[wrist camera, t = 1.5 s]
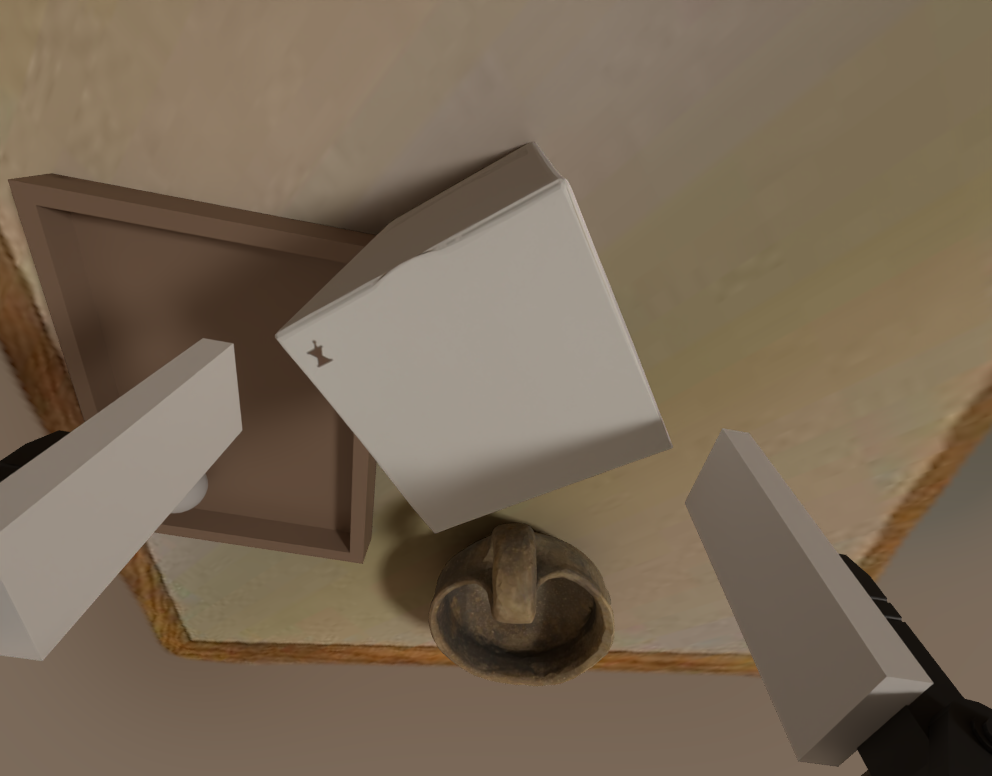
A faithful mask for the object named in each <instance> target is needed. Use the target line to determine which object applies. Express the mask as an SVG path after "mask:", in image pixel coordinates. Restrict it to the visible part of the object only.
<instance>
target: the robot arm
mask: <svg viewBox="0 0 992 776" xmlns="http://www.w3.org/2000/svg"><path fill="white" fill-rule="evenodd" d="M241 431H242V421H241V412H240V402H239V392H238V383H237V373H236V363H235V354H234V344H233V343H228V342H223V341H217V340H211V339H205V338H202V339H201V340H200V341H198V342H197V343H195V344H194V345H193V346H191V347H190V348H188V349H187V350H186V351H184V352H183V353H181V354H180V355H179V356H177V357H176V358H174V359H173V360H172V361H170V362H169V363H167V364H166V365H165V366H163V367H162V368H160V369H159V370H158V371H156V372H155V373H153V374H152V375H150V376H149V377H148V378H146V379H145V380H143V381H142V382H141V383H139V384H138V385H136V386H135V387H134V388H132V389H131V390H129V391H128V392H127V393H125V394H124V395H122V396H121V397H120V398H118V399H117V400H115V401H114V402H113V403H111V404H110V405H108V406H107V407H106V408H104V409H103V410H101V411H100V412H99V413H97V414H96V415H94V416H93V417H92V418H90V419H89V420H87V421H86V422H84V423H83V424H82V425H80V426H79V427H77V428H76V429H75V430H73V431H72V432H66V431H60V430H59V431H56V432H54V433H51V434H49V435H47V436H44V437H42V438H39V439H37V440H34V441H32V442H29V443H27V444H25V445H24V446H22V447H20V448H19V449H17V450H16V451H15V452H13V453H11V454H10V455H8V456H7V457H5V458H4V459H3V460H1V461H0V655H2V656H10V657H17V658H25V659H32V660H40V661H43V660H44V658H45V657H46V656H47V655H48V654H49V653H50V652H51V650H52V649H53V648H54V647H55V646H56V645H57V643H58V642H59V641H60V640H61V639H62V638H63V637H64V635H65V634H66V633H67V632H68V631H69V630H70V628H71V627H72V626H73V625H74V624H75V623H76V621H77V620H78V619H79V618H80V617H81V616H82V615H83V614H84V612H85V611H86V610H87V609H88V608H89V607H90V605H91V604H92V603H93V602H94V600H96V598H97V597H98V596H99V595H100V594H101V593H102V591H103V590H104V589H105V588H106V587H107V586H108V585H109V584H110V582H111V581H112V580H113V579H114V578H115V577H116V575H117V574H118V573H119V572H120V571H121V570H122V569H123V567H124V566H125V565H126V564H127V563H128V562H129V560H130V559H131V558H132V557H133V556H134V555H135V554H136V552H137V551H138V550H139V549H140V548H141V547H142V545H143V544H144V543H145V542H146V541H147V540H148V539H149V537H150V536H151V535H152V534H153V533H154V532H155V530H156V529H157V528H158V527H159V526H160V525H161V524H162V522H163V521H164V520H165V519H166V518H167V517H168V515H169V514H170V513H171V512H172V511H173V510H174V509H175V507H176V506H177V505H178V504H179V503H180V502H181V501H182V499H183V498H184V497H185V496H186V495H187V494H188V492H189V491H190V490H191V489H192V488H193V487H194V486H195V484H196V483H197V482H198V481H199V480H200V479H201V477H202V476H203V475H204V474H205V473H206V472H207V471H208V469H209V468H210V467H211V466H212V465H213V464H214V462H215V461H216V460H217V459H218V458H219V457H220V456H221V454H222V453H223V452H224V451H225V450H226V449H227V447H228V446H229V445H230V444H231V443H232V442H233V441H234V439H235V438H236V437H237V436H238V435H239V434H240V432H241ZM685 504H686V507H687V509H688V511H689V513H690V516H691V518H692V520H693V523H694V525H695V527H696V529H697V532H698V534H699V536H700V538H701V541H702V543H703V545H704V548H705V550H706V552H707V554H708V557H709V559H710V561H711V564H712V566H713V568H714V570H715V573H716V575H717V577H718V580H719V582H720V584H721V586H722V589H723V591H724V593H725V596H726V598H727V600H728V602H729V605H730V607H731V609H732V611H733V614H734V616H735V618H736V621H737V623H738V625H739V627H740V630H741V632H742V634H743V637H744V639H745V641H746V643H747V646H748V648H749V650H750V653H751V655H752V657H753V659H754V662H755V664H756V666H757V669H758V671H759V673H760V675H761V678H762V680H763V682H764V684H765V687H766V689H767V691H768V694H769V696H770V698H771V700H772V703H773V705H774V707H775V710H776V712H777V714H778V716H779V719H780V721H781V723H782V726H783V728H784V730H785V732H786V735H787V737H788V739H789V741H790V744H791V746H792V748H793V751H794V753H795V755H796V757H797V760H798V761H800V762H807V763H815V764H822V765H830V766H837V767H838V766H839V765H840V764H842V763H843V762H844V761H845V760H846V759H847V758H849V757H850V756H851V755H852V754H853V753H854V752H856V751H857V750H858V752H859V754H860V755H861V757H862V759H863V761H864V763H865V765H866V766H867V768H868V770H867V771H866V772H865V773H864V774H862V775H861V776H992V709H991V708H989V707H987V706H985V705H983V704H981V703H979V702H975V701H971V700H967V699H964V697H963V696H962V695H961V694H960V693H959V691H958V690H957V689H956V687H955V686H954V685H953V683H952V682H951V681H950V680H949V678H948V677H947V676H946V674H945V673H944V672H943V671H942V670H941V668H940V667H939V665H938V664H937V663H936V661H935V660H934V659H933V658H932V656H931V655H930V654H929V652H928V651H927V650H926V649H925V647H924V646H923V644H922V643H921V642H920V641H919V640H918V638H917V637H916V636H915V634H914V633H913V632H912V630H911V629H910V628H909V626H908V625H907V624H906V623H905V622H902V621H901V618H902V617H901V616H900V615H899V613H898V612H897V611H896V609H895V608H894V607H893V606H892V604H891V603H887V598H886V596H885V595H884V594H883V593H882V591H881V590H880V589H879V587H878V586H877V585H876V583H875V582H874V581H873V580H872V578H871V577H870V576H869V575H868V574H867V573H866V572H865V571H864V570H862V569H861V568H860V567H859V566H858V565H857V564H856V563H854V562H853V561H852V560H851V559H850V558H849V557H848V556H846V555H843V554H838V553H837V551H836V550H835V549H834V547H833V546H832V545H831V543H830V542H829V541H828V539H827V538H826V537H825V535H824V534H823V532H822V531H821V530H820V528H819V527H818V526H817V524H816V523H815V522H814V520H813V519H812V518H811V516H810V515H809V513H808V512H807V511H806V509H805V508H804V507H803V505H802V504H801V503H800V501H799V500H798V499H797V497H796V496H795V495H794V493H793V492H792V490H791V489H790V488H789V486H788V485H787V484H786V482H785V481H784V480H783V478H782V477H781V476H780V474H779V473H778V471H777V470H776V469H775V467H774V466H773V465H772V463H771V462H770V461H769V459H768V458H767V457H766V455H765V454H764V452H763V451H762V450H761V448H760V447H759V446H758V444H757V443H756V442H755V440H754V439H753V438H752V436H751V435H750V433H746V432H740V431H735V430H729V429H723V428H722V430H721V432H720V434H719V436H718V438H717V440H716V442H715V444H714V446H713V448H712V450H711V452H710V454H709V456H708V458H707V460H706V462H705V464H704V466H703V468H702V470H701V472H700V474H699V476H698V478H697V480H696V481H695V483H694V485H693V487H692V489H691V491H690V493H689V495H688V497H687V499H686V501H685Z"/></svg>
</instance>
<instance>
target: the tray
mask: <svg viewBox="0 0 992 776" xmlns="http://www.w3.org/2000/svg"><path fill="white" fill-rule="evenodd" d="M8 182H9V185H10V188H11V191H12V194H13V198H14V201H15V204H16V207H17V210H18V213H19V217H20V220H21V223H22V226H23V229H24V232H25V235H26V239H27V242H28V245H29V248H30V251H31V254H32V257H33V261H34V264H35V267H36V270H37V273H38V276H39V279H40V283H41V286H42V289H43V292H44V295H45V298H46V301H47V305H48V308H49V311H50V314H51V317H52V320H53V323H54V327H55V330H56V333H57V336H58V339H59V342H60V345H61V349H62V352H63V355H64V358H65V361H66V364H67V368H68V371H69V374H70V377H71V380H72V383H73V386H74V390H75V393H76V396H77V399H78V402H79V405H80V408H81V412H82V415H83V418H84V421H85V422H86V421H87V420H89V419H90V418H92V417H93V416H94V415H96V414H97V413H99V412H100V411H101V410H103V409H104V408H106V407H107V406H108V405H110V404H111V403H113V402H114V401H115V400H117V399H118V398H120V397H121V396H122V395H124V394H125V393H127V392H128V391H129V390H131V389H132V388H134V387H135V386H136V385H138V384H139V383H141V382H142V381H143V380H145V379H146V378H148V377H149V376H150V375H152V374H153V373H155V372H156V371H158V370H159V369H160V368H162V367H163V366H165V365H166V364H167V363H169V362H170V361H172V360H173V359H174V358H176V357H177V356H179V355H180V354H181V353H183V352H184V351H186V350H187V349H188V348H190V347H191V346H193V345H194V344H195V343H197V342H198V341H200V340H201V339H202V338H205V339H211V340H217V341H223V342H228V343H233V344H234V354H235V363H236V373H237V383H238V392H239V402H240V412H241V421H242V431H241V432H240V434H239V435H238V436H237V437H236V438H235V439H234V441H233V442H232V443H231V444H230V445H229V446H228V447H227V449H226V450H225V451H224V452H223V453H222V454H221V456H220V457H219V458H218V459H217V460H216V461H215V462H214V464H213V465H212V466H211V467H210V468H209V469H208V471H207V472H206V473H205V474H206V476H207V479H208V489H207V492H206V494H205V496H204V498H203V499H202V501H201V502H200V503H199V504H198V505H196V506H195V507H193V508H192V509H190V510H188V511H185V512H181V513H170V514H169V515H168V517H167V518H166V519H165V520H164V521H163V522H162V524H161V525H160V526H159V527H158V528H157V529H156V530H155V533H162V534H168V535H175V536H182V537H188V538H195V539H202V540H208V541H215V542H222V543H228V544H235V545H242V546H248V547H255V548H262V549H268V550H275V551H282V552H288V553H295V554H302V555H308V556H315V557H322V558H328V559H335V560H342V561H348V562H355V563H362V564H363V561H364V558H365V555H366V552H367V549H368V547H369V544H370V541H371V536H372V521H373V506H374V490H375V475H376V460H375V459H374V458H373V456H372V455H371V454H370V453H369V451H368V450H367V449H366V448H365V446H364V445H363V444H362V443H361V441H360V440H359V439H358V438H357V436H356V435H355V434H354V433H353V431H352V430H351V429H350V428H349V427H348V425H347V424H346V423H345V422H344V420H343V419H342V418H341V417H340V415H339V414H338V413H337V412H336V411H335V409H334V408H333V407H332V406H331V404H330V403H329V402H328V401H327V400H326V398H325V397H324V396H323V395H322V393H321V392H320V391H319V390H318V389H317V387H316V386H315V385H314V384H313V383H312V381H311V380H310V379H309V378H308V377H307V375H306V374H305V373H304V372H303V371H302V369H301V368H300V367H299V366H298V365H297V363H296V362H295V361H294V360H293V359H292V358H291V356H290V355H289V354H288V353H287V352H286V351H285V349H284V348H283V347H282V346H281V344H280V343H279V342H278V341H277V340H276V338H275V334H276V333H277V332H278V331H279V330H280V329H281V328H282V327H283V326H284V325H285V324H286V323H287V322H288V321H289V320H290V319H291V318H292V317H293V316H294V315H295V314H296V313H297V312H298V311H299V310H300V309H301V308H302V307H303V306H304V305H305V304H307V303H308V302H309V301H310V300H311V299H312V298H313V297H314V296H315V295H316V294H317V293H318V292H319V291H320V290H321V289H322V288H323V287H324V286H325V285H326V284H327V283H328V282H329V281H330V280H331V279H332V278H333V277H334V276H335V275H336V274H337V273H339V272H340V271H341V270H342V269H343V268H344V267H345V266H346V265H347V264H348V263H349V262H350V261H351V260H352V259H353V258H354V257H355V256H356V255H357V254H358V253H359V252H360V251H361V250H362V249H363V248H364V247H365V246H366V245H367V244H368V243H369V242H370V241H371V240H372V239H374V238H375V237H376V236H377V235H373V234H367V233H362V232H357V231H352V230H346V229H341V228H336V227H331V226H325V225H320V224H315V223H310V222H304V221H299V220H294V219H289V218H283V217H278V216H273V215H268V214H262V213H257V212H252V211H246V210H241V209H236V208H231V207H225V206H220V205H215V204H210V203H204V202H199V201H194V200H189V199H183V198H178V197H173V196H168V195H162V194H157V193H152V192H146V191H141V190H136V189H131V188H125V187H120V186H115V185H110V184H104V183H99V182H94V181H89V180H83V179H78V178H73V177H68V176H62V175H57V174H52V173H51V174H44V175H37V176H29V177H22V178H15V179H8Z"/></svg>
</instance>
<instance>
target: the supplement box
mask: <svg viewBox="0 0 992 776" xmlns="http://www.w3.org/2000/svg"><path fill="white" fill-rule="evenodd" d="M275 338H276V340H277V341H278V342H279V343H280V344H281V346H282V347H283V348H284V349H285V351H286V352H287V353H288V354H289V355H290V356H291V358H292V359H293V360H294V361H295V362H296V363H297V365H298V366H299V367H300V368H301V369H302V371H303V372H304V373H305V374H306V375H307V377H308V378H309V379H310V380H311V381H312V383H313V384H314V385H315V386H316V387H317V389H318V390H319V391H320V392H321V393H322V395H323V396H324V397H325V398H326V400H327V401H328V402H329V403H330V404H331V406H332V407H333V408H334V409H335V411H336V412H337V413H338V414H339V415H340V417H341V418H342V419H343V420H344V422H345V423H346V424H347V425H348V427H349V428H350V429H351V430H352V431H353V433H354V434H355V435H356V436H357V438H358V439H359V440H360V441H361V443H362V444H363V445H364V446H365V448H366V449H367V450H368V451H369V453H370V454H371V455H372V456H373V458H374V459H375V460H376V461H377V463H378V464H379V465H380V467H381V468H382V469H383V470H384V472H385V473H386V474H387V476H388V477H389V478H390V479H391V481H392V482H393V483H394V485H395V486H396V487H397V488H398V490H399V491H400V492H401V494H402V495H403V496H404V498H405V499H406V500H407V501H408V503H409V504H410V505H411V506H412V508H413V509H414V510H415V511H416V512H417V513H418V515H419V516H420V517H421V518H422V519H423V520H424V522H425V523H426V524H427V525H428V526H429V527H430V529H431V530H432V531H433V532H434V533H439V532H441V531H444V530H446V529H449V528H451V527H454V526H457V525H460V524H462V523H465V522H468V521H471V520H473V519H476V518H479V517H482V516H484V515H487V514H490V513H493V512H495V511H498V510H501V509H504V508H507V507H509V506H512V505H515V504H518V503H520V502H523V501H526V500H529V499H531V498H534V497H537V496H540V495H542V494H545V493H548V492H551V491H553V490H556V489H559V488H562V487H564V486H567V485H570V484H573V483H576V482H578V481H581V480H584V479H587V478H589V477H592V476H595V475H598V474H601V473H603V472H606V471H609V470H612V469H615V468H617V467H620V466H623V465H626V464H629V463H632V462H634V461H637V460H640V459H643V458H646V457H648V456H651V455H654V454H657V453H660V452H663V451H666V450H669V449H671V448H673V445H672V443H671V441H670V437H669V435H668V432H667V429H666V427H665V424H664V422H663V419H662V417H661V414H660V412H659V409H658V407H657V404H656V402H655V399H654V397H653V394H652V391H651V389H650V386H649V384H648V381H647V378H646V376H645V373H644V370H643V368H642V365H641V363H640V360H639V357H638V355H637V352H636V350H635V347H634V344H633V342H632V339H631V337H630V334H629V332H628V329H627V327H626V324H625V322H624V319H623V317H622V314H621V312H620V309H619V307H618V304H617V301H616V299H615V296H614V294H613V291H612V289H611V286H610V284H609V281H608V279H607V276H606V274H605V272H604V269H603V267H602V264H601V262H600V259H599V257H598V255H597V252H596V249H595V247H594V244H593V242H592V239H591V237H590V234H589V232H588V229H587V227H586V224H585V221H584V219H583V216H582V214H581V211H580V209H579V206H578V204H577V201H576V198H575V196H574V193H573V191H572V188H571V186H570V184H569V182H568V180H567V179H565V178H563V176H561V174H560V173H559V172H558V171H557V170H556V169H555V167H554V166H553V165H552V163H551V162H550V161H549V159H548V158H547V157H546V156H545V154H544V153H543V151H542V150H541V149H540V147H539V146H538V144H537V143H535V142H531V143H528V144H526V145H524V146H523V147H521V148H519V149H517V150H515V151H514V152H512V153H510V154H508V155H507V156H505V157H503V158H501V159H500V160H498V161H496V162H494V163H493V164H491V165H489V166H487V167H486V168H484V169H482V170H480V171H478V172H477V173H475V174H473V175H471V176H470V177H468V178H466V179H464V180H463V181H461V182H459V183H457V184H456V185H454V186H452V187H450V188H449V189H447V190H445V191H443V192H442V193H440V194H438V195H436V196H435V197H433V198H431V199H429V200H428V201H426V202H424V203H422V204H421V205H419V206H417V207H415V208H414V209H412V210H410V211H408V212H407V213H405V214H403V215H402V216H400V217H398V218H396V219H395V220H393V221H392V222H390V223H389V224H388V225H387V226H386V227H385V228H384V229H383V230H382V231H381V232H380V233H379V234H378V235H377V236H376V237H375V238H374V239H372V240H371V241H370V242H369V243H368V244H367V245H366V246H365V247H364V248H363V249H362V250H361V251H360V252H359V253H358V254H357V255H356V256H355V257H354V258H353V259H352V260H351V261H350V262H349V263H348V264H347V265H346V266H345V267H344V268H343V269H342V270H341V271H340V272H339V273H337V274H336V275H335V276H334V277H333V278H332V279H331V280H330V281H329V282H328V283H327V284H326V285H325V286H324V287H323V288H322V289H321V290H320V291H319V292H318V293H317V294H316V295H315V296H314V297H313V298H312V299H311V300H310V301H309V302H308V303H307V304H305V305H304V306H303V307H302V308H301V309H300V310H299V311H298V312H297V313H296V314H295V315H294V316H293V317H292V318H291V319H290V320H289V321H288V322H287V323H286V324H285V325H284V326H283V327H282V328H281V329H280V330H279V331H278V332H277V333H276V334H275Z"/></svg>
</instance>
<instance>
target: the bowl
mask: <svg viewBox="0 0 992 776" xmlns="http://www.w3.org/2000/svg"><path fill="white" fill-rule="evenodd" d="M610 604H611V599H610V595H609V592H608V590H607V589H606V587H605V584H604V581H603V578H602V576H601V574H600V572H599V570H598V569H597V567H596V566H595V565H594V563H593V562H592V561H591V560H590V559H589V558H588V557H587V556H586V555H585V554H584V553H582V552H581V551H580V550H578V549H577V548H575V547H574V546H572V545H570V544H568V543H566V542H564V541H562V540H560V539H558V538H556V537H552V536H549V535H546V534H541V533H536V532H534V531H533V529H532V528H531V527H530V526H529V525H526V524H522V523H513V524H502V525H498V526H497V527H495V528H494V529H493V531H492V535H490V536H488V537H486V538H484V539H482V540H480V541H477V542H475V543H474V544H472V545H470V546H468V547H467V548H465V549H464V550H462V551H461V552H459V553H458V554H456V555H455V556H453V557H452V558H451V559H450V560H449V561H448V562H447V564H446V565H445V567H444V568H443V570H442V572H441V574H440V576H439V579H438V582H437V586H436V591H435V595H434V598H433V600H432V603H431V606H430V611H429V621H428V622H429V626H430V631H431V635H432V637H433V639H434V641H435V643H436V644H437V646H438V648H439V649H440V650H441V651H442V653H443V654H445V655H446V656H447V657H448V658H449V659H450V660H452V661H453V662H454V663H455V664H457V665H458V666H459V667H461V668H462V669H464V670H466V671H467V672H469V673H471V674H473V675H474V676H477V677H481V678H484V679H487V680H491V681H495V682H501V683H507V684H514V685H522V684H524V685H529V686H543V685H555V684H561V683H564V682H566V681H568V680H571V679H574V678H576V677H577V676H578V675H580V674H581V673H584V672H585V671H586V670H587V669H589V668H591V667H593V666H594V665H595V664H596V663H597V662H598V661H600V660H601V659H602V658H603V657H604V656H605V655H606V654H607V653H608V651H609V650H610V648H611V646H612V643H613V639H614V615H613V610H612V609H611V607H610Z"/></svg>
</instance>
